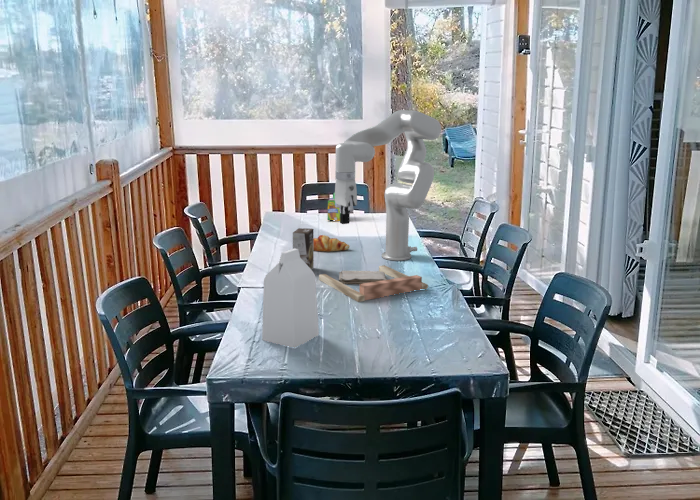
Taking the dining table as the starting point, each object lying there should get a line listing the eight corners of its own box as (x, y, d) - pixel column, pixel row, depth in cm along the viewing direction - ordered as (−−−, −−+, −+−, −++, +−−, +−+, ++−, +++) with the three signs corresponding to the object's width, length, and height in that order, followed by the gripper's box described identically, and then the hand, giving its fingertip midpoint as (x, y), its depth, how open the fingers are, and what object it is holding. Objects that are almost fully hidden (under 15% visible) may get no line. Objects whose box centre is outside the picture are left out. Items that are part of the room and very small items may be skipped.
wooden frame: (384, 270, 260) (384, 257, 259) (427, 289, 236) (428, 276, 234) (319, 279, 246) (319, 267, 245) (358, 302, 221) (358, 287, 220)
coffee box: (308, 274, 253) (308, 233, 249) (292, 272, 255) (291, 232, 251) (314, 267, 262) (314, 228, 258) (298, 266, 263) (298, 227, 259)
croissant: (349, 256, 294) (350, 239, 296) (348, 251, 284) (349, 233, 286) (302, 254, 295) (303, 237, 297) (300, 248, 285) (301, 231, 287)
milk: (294, 348, 182) (293, 258, 175) (262, 340, 188) (260, 252, 181) (319, 335, 192) (319, 249, 185) (287, 327, 198) (286, 243, 191)
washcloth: (338, 276, 252) (338, 268, 252) (385, 276, 253) (385, 269, 252) (338, 285, 241) (338, 277, 240) (387, 286, 241) (387, 278, 240)
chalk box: (327, 221, 350) (327, 194, 347) (330, 218, 359) (330, 191, 356) (344, 222, 349) (344, 194, 345) (347, 218, 358) (347, 192, 354)
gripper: (363, 178, 245) (363, 226, 249) (344, 173, 257) (343, 219, 262) (346, 179, 241) (345, 228, 246) (327, 174, 254) (327, 220, 258)
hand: (344, 223), depth 254 cm, fingers closed
